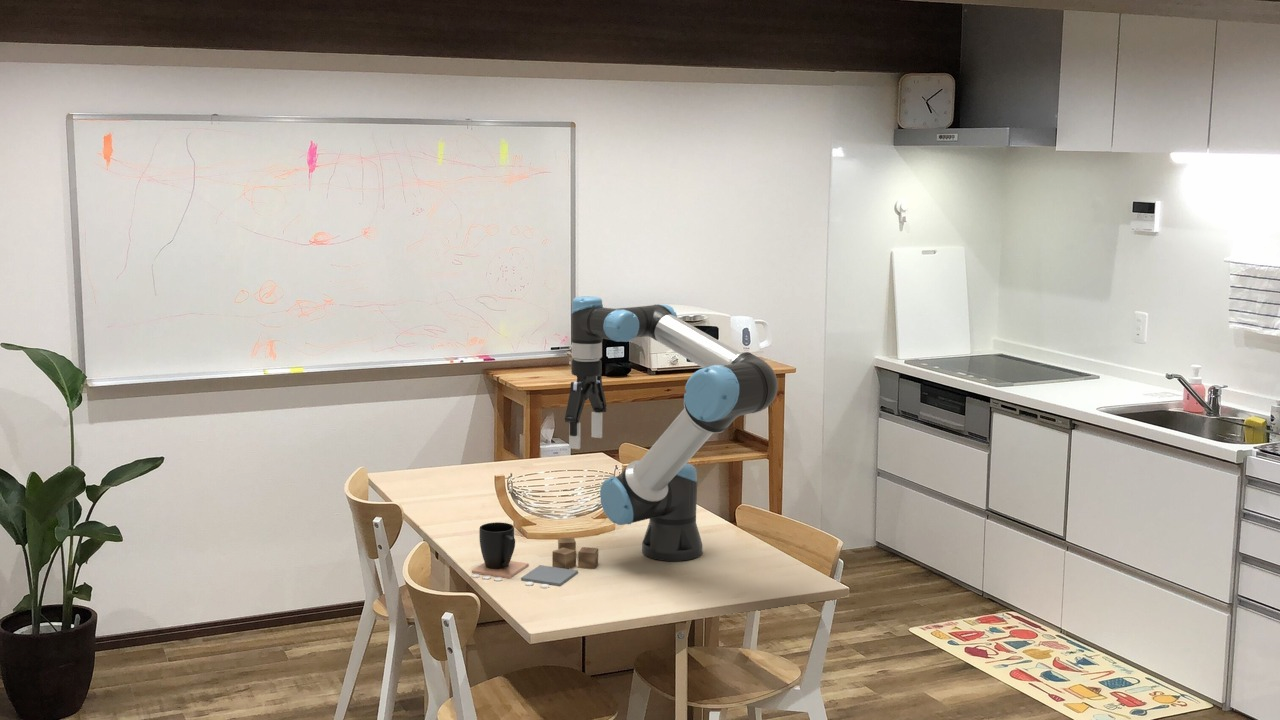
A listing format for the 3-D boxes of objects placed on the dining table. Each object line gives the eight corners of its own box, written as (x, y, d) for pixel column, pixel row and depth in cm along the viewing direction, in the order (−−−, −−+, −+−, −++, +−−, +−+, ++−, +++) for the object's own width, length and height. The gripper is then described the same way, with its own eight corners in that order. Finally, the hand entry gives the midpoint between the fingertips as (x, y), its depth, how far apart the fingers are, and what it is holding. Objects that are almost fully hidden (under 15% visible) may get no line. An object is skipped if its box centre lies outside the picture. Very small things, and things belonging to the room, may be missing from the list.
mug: (496, 577, 286) (495, 538, 284) (473, 563, 295) (473, 525, 294) (527, 572, 290) (527, 533, 288) (504, 558, 300) (504, 520, 298)
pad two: (577, 572, 292) (578, 570, 291) (554, 589, 280) (554, 587, 280) (539, 567, 295) (539, 565, 295) (515, 583, 283) (515, 581, 283)
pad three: (528, 565, 296) (528, 563, 296) (503, 582, 284) (503, 579, 284) (491, 560, 300) (491, 558, 300) (465, 576, 288) (465, 573, 288)
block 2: (575, 566, 297) (576, 550, 296) (565, 570, 293) (565, 554, 293) (563, 563, 299) (563, 547, 298) (552, 567, 296) (552, 551, 295)
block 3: (598, 564, 299) (598, 548, 298) (594, 569, 295) (594, 553, 294) (582, 562, 299) (582, 547, 299) (578, 568, 296) (578, 551, 295)
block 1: (574, 553, 307) (574, 537, 306) (575, 558, 303) (575, 542, 302) (558, 553, 306) (558, 538, 306) (559, 558, 302) (559, 542, 302)
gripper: (592, 351, 318) (592, 431, 321) (551, 365, 295) (550, 451, 298) (619, 353, 315) (618, 434, 318) (579, 367, 292) (579, 454, 295)
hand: (586, 442), depth 308 cm, fingers open, 13 cm apart
